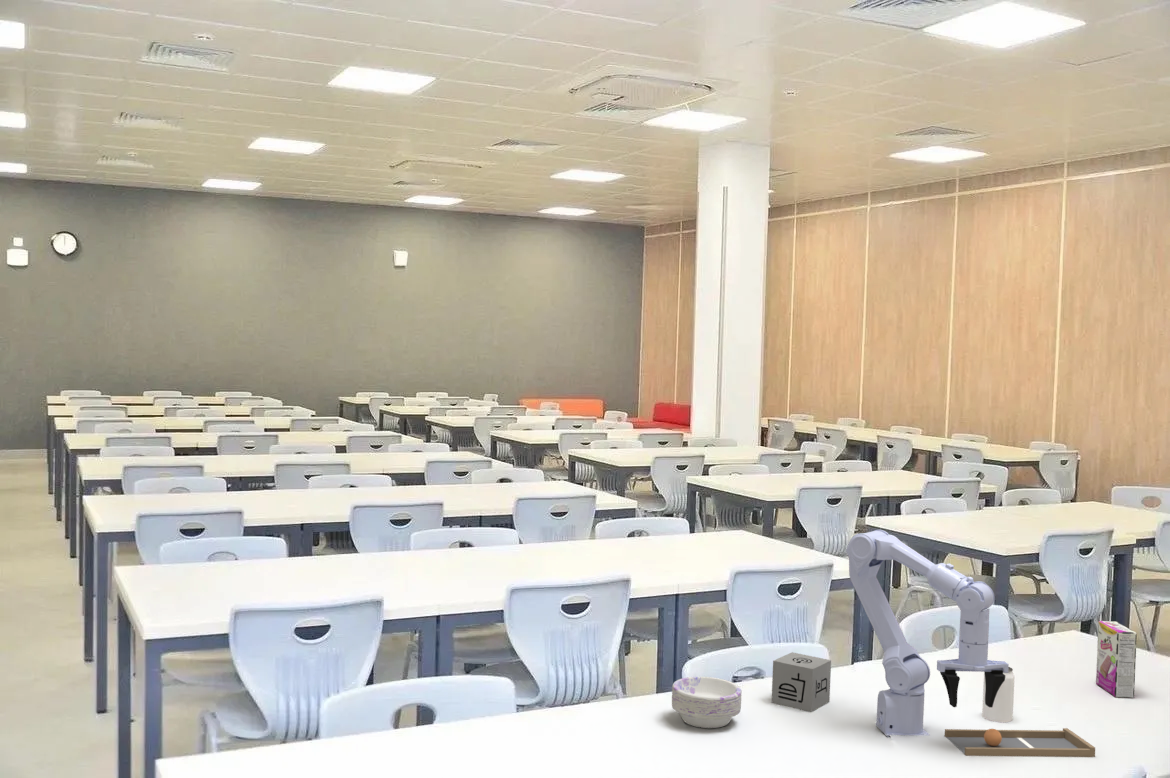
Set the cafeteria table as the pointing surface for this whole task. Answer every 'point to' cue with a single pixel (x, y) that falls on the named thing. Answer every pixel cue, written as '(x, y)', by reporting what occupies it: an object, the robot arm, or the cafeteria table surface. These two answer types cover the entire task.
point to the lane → (1022, 743)
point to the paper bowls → (706, 701)
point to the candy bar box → (1116, 659)
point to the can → (1001, 701)
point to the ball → (992, 737)
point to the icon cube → (801, 681)
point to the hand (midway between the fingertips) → (970, 705)
